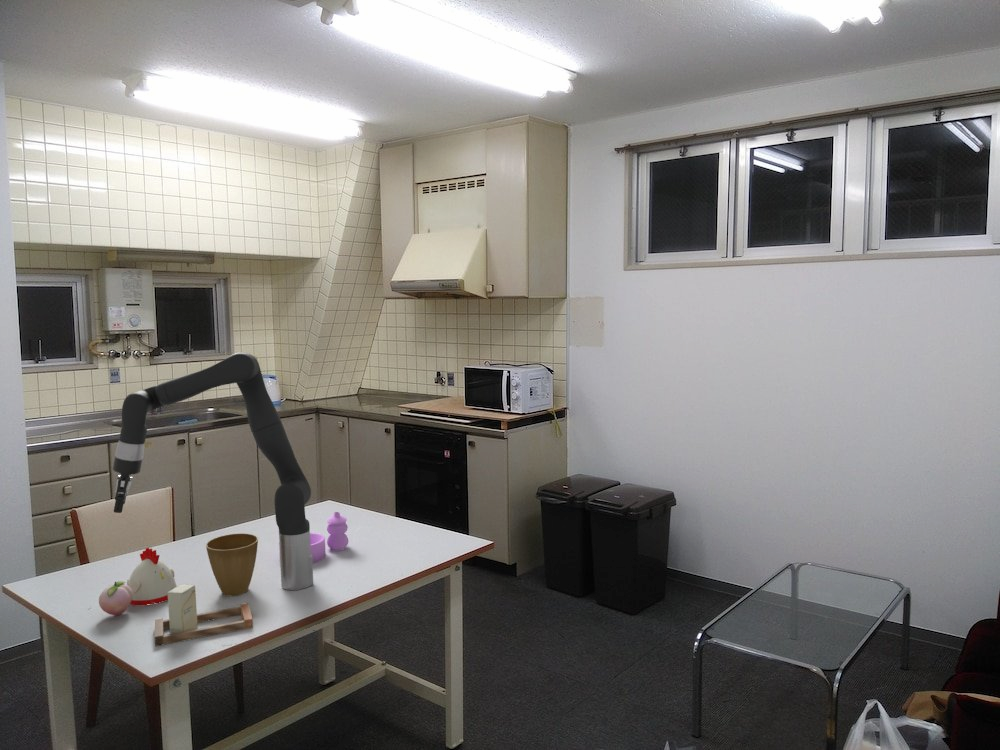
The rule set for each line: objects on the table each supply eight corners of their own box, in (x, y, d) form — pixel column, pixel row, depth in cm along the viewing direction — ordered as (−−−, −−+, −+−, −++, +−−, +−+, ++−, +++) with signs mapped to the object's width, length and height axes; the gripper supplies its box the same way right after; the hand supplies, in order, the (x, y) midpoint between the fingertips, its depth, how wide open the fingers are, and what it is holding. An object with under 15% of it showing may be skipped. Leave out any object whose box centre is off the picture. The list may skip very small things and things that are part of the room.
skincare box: (184, 637, 193) (181, 593, 192) (169, 636, 194) (166, 592, 193) (198, 627, 199) (196, 584, 198) (183, 626, 200) (181, 583, 199)
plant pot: (205, 588, 226) (202, 538, 225) (255, 579, 234) (252, 530, 232) (212, 605, 213) (209, 552, 212) (265, 595, 221) (262, 543, 219)
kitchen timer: (145, 609, 212) (142, 559, 210) (116, 600, 218) (112, 551, 217) (186, 592, 224) (183, 544, 222) (157, 584, 231) (154, 538, 229)
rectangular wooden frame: (248, 611, 209) (247, 603, 209) (252, 627, 199) (252, 618, 198) (155, 628, 199) (154, 619, 198) (155, 646, 188) (154, 636, 188)
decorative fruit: (105, 610, 211) (103, 577, 210) (136, 607, 213) (134, 574, 212) (95, 624, 202) (93, 589, 201) (127, 621, 204) (125, 586, 203)
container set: (292, 569, 243) (290, 530, 241) (272, 557, 254) (270, 520, 253) (358, 551, 259) (356, 515, 258) (336, 541, 270) (335, 506, 269)
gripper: (140, 463, 215) (130, 516, 216) (144, 452, 228) (135, 502, 229) (112, 460, 212) (102, 514, 213) (118, 448, 225) (108, 499, 226)
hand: (119, 507), depth 221 cm, fingers open, 8 cm apart
